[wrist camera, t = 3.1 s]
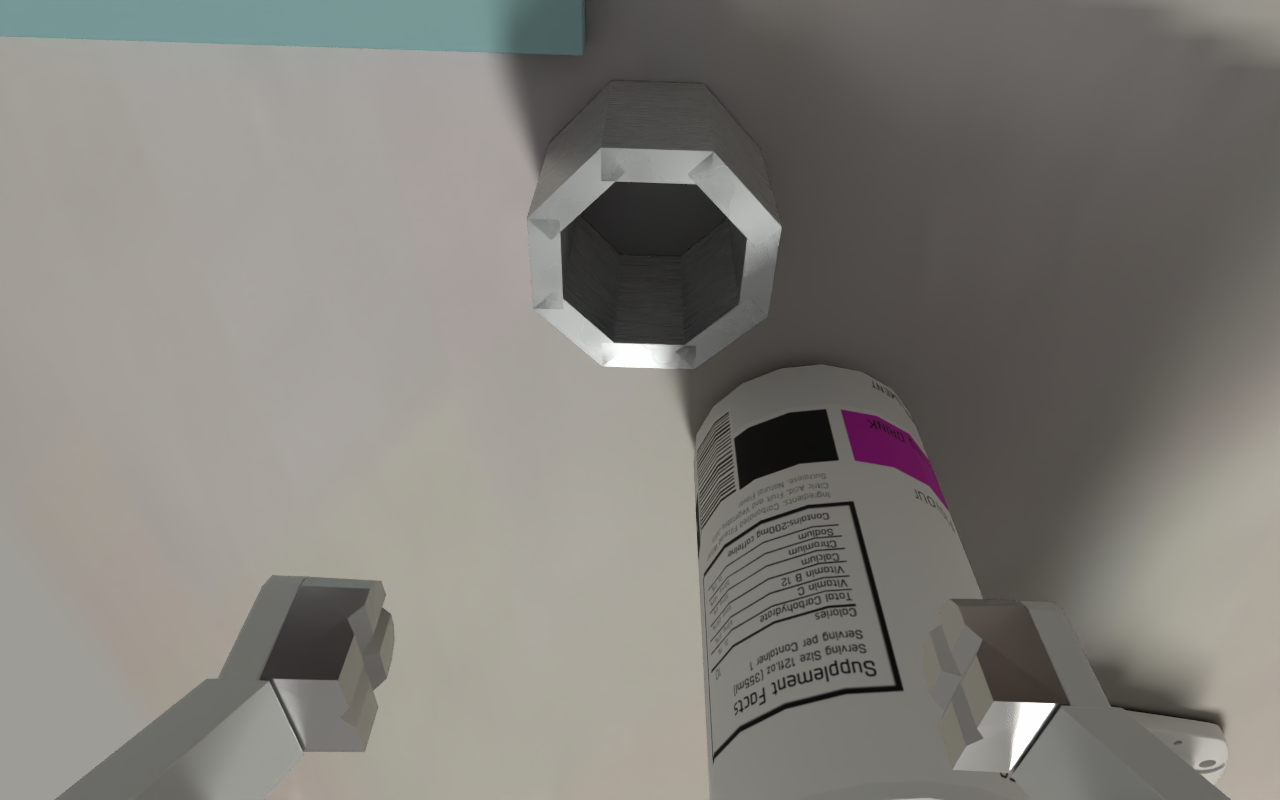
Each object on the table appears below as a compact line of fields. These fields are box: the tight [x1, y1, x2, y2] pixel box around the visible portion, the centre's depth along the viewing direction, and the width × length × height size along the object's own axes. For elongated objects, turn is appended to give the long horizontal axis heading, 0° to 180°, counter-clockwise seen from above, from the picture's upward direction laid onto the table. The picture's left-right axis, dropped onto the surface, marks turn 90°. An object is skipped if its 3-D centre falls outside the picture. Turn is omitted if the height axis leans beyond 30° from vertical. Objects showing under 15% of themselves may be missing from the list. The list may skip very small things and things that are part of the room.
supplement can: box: [694, 364, 1031, 800], centre depth 24 cm, size 8×8×15 cm
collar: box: [527, 80, 782, 369], centre depth 22 cm, size 6×6×5 cm
